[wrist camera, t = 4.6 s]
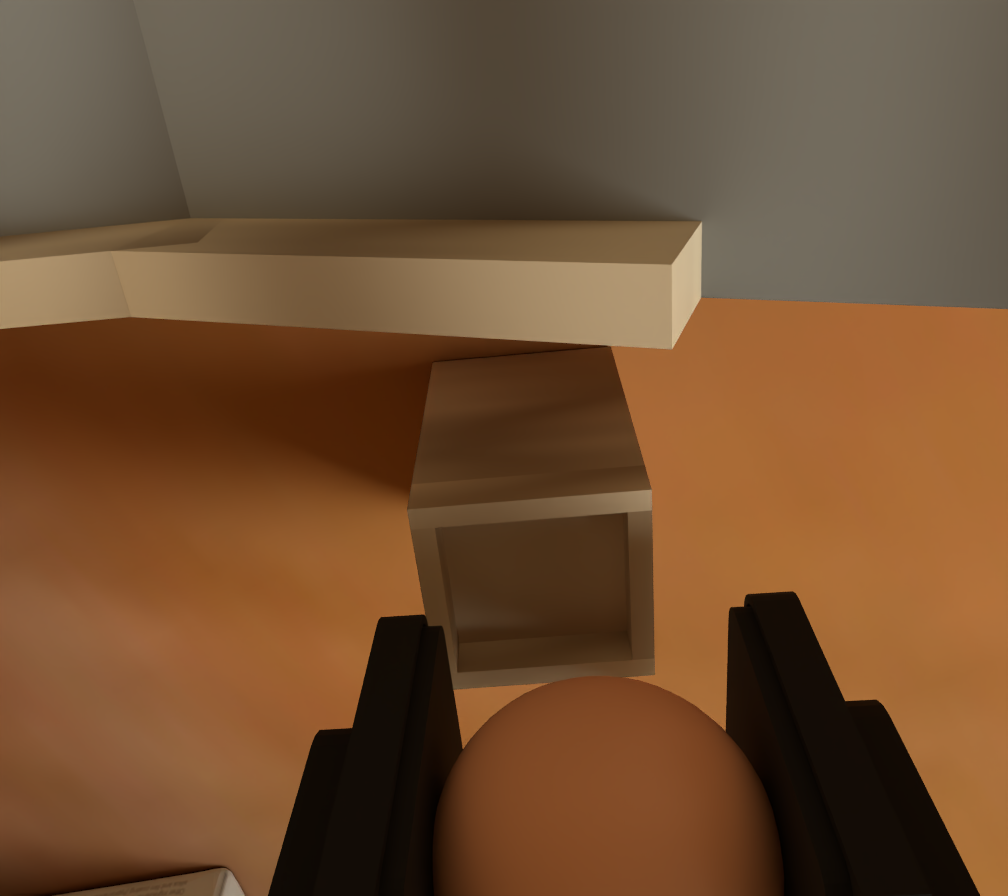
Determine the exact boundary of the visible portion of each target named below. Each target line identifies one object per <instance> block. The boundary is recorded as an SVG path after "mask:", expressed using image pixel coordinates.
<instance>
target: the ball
mask: <svg viewBox="0 0 1008 896" xmlns="http://www.w3.org/2000/svg"><path fill="white" fill-rule="evenodd" d="M433 888H434V896H784V869H783V860H782V853H781V846H780V839H779V834H778V829H777V825H776V821H775V817H774V813H773V809H772V806H771V804H770V801H769V798H768V796H767V793H766V791H765V789H764V786H763V784H762V782H761V780H760V778H759V777H758V775H757V773H756V771H755V770H754V768H753V766H752V765H751V763H750V762H749V760H748V759H747V757H746V756H745V754H744V753H743V751H742V750H741V749H740V748H739V746H738V745H737V744H736V743H735V742H734V740H733V739H732V738H731V737H730V736H729V735H728V734H727V733H726V732H725V731H724V730H723V728H722V727H721V726H720V725H718V724H717V723H716V722H715V721H714V720H712V719H711V718H710V717H709V716H707V715H706V714H705V713H704V712H702V711H701V710H700V709H699V708H697V707H696V706H695V705H693V704H691V703H690V702H688V701H686V700H685V699H683V698H681V697H679V696H677V695H675V694H673V693H671V692H669V691H667V690H665V689H662V688H660V687H658V686H655V685H652V684H649V683H646V682H643V681H639V680H634V679H629V678H623V677H612V676H585V677H576V678H570V679H565V680H561V681H556V682H553V683H550V684H547V685H544V686H541V687H538V688H536V689H534V690H532V691H529V692H527V693H525V694H523V695H522V696H520V697H518V698H517V699H515V700H513V701H512V702H510V703H509V704H507V705H506V706H505V707H503V708H502V709H501V710H499V711H498V712H497V713H496V714H494V715H493V716H492V717H491V718H490V719H489V720H488V721H487V722H486V723H485V724H484V725H483V726H482V727H481V728H480V729H479V730H478V731H477V732H476V733H475V735H474V736H473V737H472V738H471V739H470V741H469V742H468V743H467V745H466V746H465V748H464V749H463V750H462V752H461V753H460V755H459V757H458V759H457V760H456V762H455V764H454V765H453V767H452V769H451V771H450V773H449V776H448V778H447V780H446V782H445V785H444V787H443V790H442V793H441V796H440V799H439V802H438V806H437V810H436V816H435V822H434V834H433Z"/></svg>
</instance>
